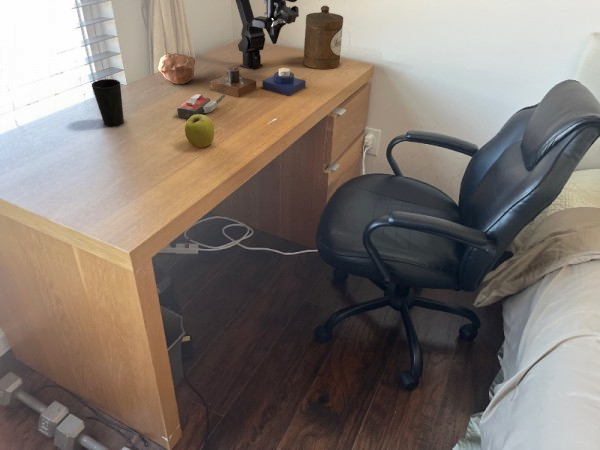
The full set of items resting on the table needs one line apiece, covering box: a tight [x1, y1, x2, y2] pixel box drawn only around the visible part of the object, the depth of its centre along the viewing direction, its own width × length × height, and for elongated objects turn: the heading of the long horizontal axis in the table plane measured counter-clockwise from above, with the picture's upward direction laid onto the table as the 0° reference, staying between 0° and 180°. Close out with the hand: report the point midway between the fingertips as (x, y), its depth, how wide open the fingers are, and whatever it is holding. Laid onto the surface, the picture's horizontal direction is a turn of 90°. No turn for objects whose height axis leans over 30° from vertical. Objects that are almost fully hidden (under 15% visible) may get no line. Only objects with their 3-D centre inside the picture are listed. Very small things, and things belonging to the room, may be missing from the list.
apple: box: [184, 114, 215, 148], centre depth 130 cm, size 8×8×10 cm
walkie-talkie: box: [176, 93, 226, 120], centre depth 152 cm, size 9×4×20 cm
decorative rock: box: [157, 52, 196, 85], centre depth 170 cm, size 13×11×10 cm
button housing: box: [261, 71, 307, 97], centre depth 170 cm, size 12×10×5 cm
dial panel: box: [211, 74, 257, 98], centre depth 167 cm, size 12×10×3 cm
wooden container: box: [303, 5, 344, 70], centre depth 189 cm, size 15×15×22 cm
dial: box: [227, 66, 241, 83], centre depth 165 cm, size 4×4×4 cm
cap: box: [278, 67, 291, 77], centre depth 168 cm, size 4×4×2 cm
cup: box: [91, 78, 125, 128], centre depth 139 cm, size 8×8×12 cm
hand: (274, 43), depth 174 cm, fingers closed
